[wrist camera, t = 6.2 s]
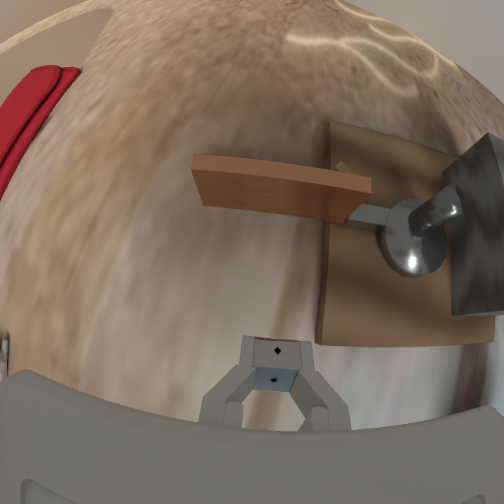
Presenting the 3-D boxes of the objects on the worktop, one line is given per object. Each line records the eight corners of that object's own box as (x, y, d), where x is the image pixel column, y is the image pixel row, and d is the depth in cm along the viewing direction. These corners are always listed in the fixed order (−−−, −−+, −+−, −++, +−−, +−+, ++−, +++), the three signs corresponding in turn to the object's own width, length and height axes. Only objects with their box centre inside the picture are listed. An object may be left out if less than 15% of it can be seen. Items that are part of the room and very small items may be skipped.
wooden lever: (209, 175, 25) (197, 123, 17) (434, 212, 25) (480, 182, 17) (195, 252, 23) (173, 222, 16) (437, 280, 23) (491, 266, 16)
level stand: (325, 131, 29) (364, 35, 15) (471, 173, 29) (534, 124, 15) (315, 343, 24) (390, 367, 10) (482, 341, 24) (570, 339, 10)
